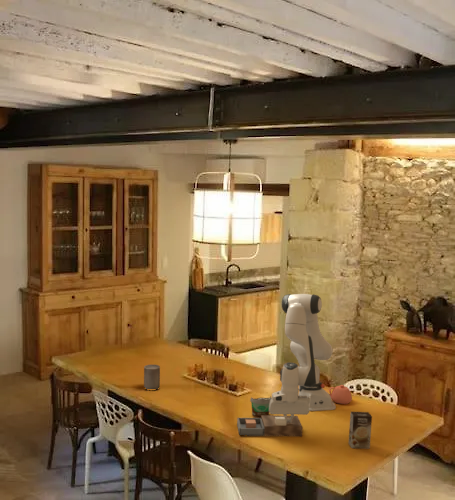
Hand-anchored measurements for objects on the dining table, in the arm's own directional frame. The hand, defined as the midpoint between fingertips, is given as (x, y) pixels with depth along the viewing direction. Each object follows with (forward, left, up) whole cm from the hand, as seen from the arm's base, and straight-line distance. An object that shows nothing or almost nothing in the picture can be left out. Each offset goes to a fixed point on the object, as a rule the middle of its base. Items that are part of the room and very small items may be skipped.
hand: (288, 422), depth 301 cm
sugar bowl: (-39, -48, -6) cm, 62 cm away
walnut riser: (+3, -4, -6) cm, 7 cm away
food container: (+10, -23, -6) cm, 26 cm away
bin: (+19, -4, -6) cm, 20 cm away
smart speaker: (+73, -68, -6) cm, 100 cm away
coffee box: (-33, +15, -6) cm, 36 cm away
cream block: (+4, 0, -1) cm, 4 cm away
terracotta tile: (+18, -7, -2) cm, 20 cm away
